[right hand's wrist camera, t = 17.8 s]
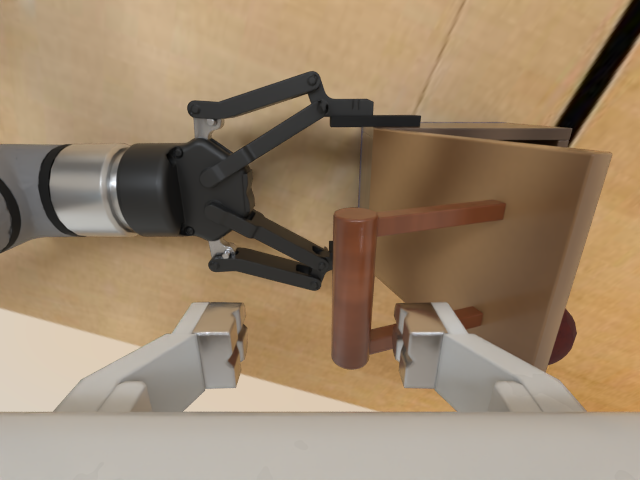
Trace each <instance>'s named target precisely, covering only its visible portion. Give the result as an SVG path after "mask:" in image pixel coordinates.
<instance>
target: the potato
mask: <svg viewBox="0 0 640 480" xmlns="http://www.w3.org/2000/svg"><path fill="white" fill-rule="evenodd" d="M576 334H577V332H576V326H575V322H574V320H573V318H572V316H571V315H570V313H569V312H568V311H567V310H566V309H565V311H564V314H563V317H562V320H561V324H560V327H559V330H558V333H557V337H556V340H555V343H554V346H553V350H552V353H551V356H550V359H549V363H548V365H550V364H553V363H555V362H557V361H559V360H561V359H562V358H563V357H564V356H566V355H567V354H568V352H569V351H570V350H571V348H572V346H573V343H574V340H575V337H576Z"/></svg>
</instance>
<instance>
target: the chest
mask: <svg viewBox="0 0 640 480" xmlns="http://www.w3.org/2000/svg"><path fill="white" fill-rule="evenodd" d="M374 129H394V130H404V131H413V132H423V133H432V134H442V135H451V136H461V137H471V138H480V139H490V140H499V141H509V142H518V143H528V144H537V145H547V146H556V147H566V148H567V146H568V142H569V141H568V140H569V139H570V135H571V131H572V128H563V127H550V126H538V125H526V124H513V123H503V122H420V127H362V128H361V152H360V175H359V199H358V208H365V209H369V201H370V183H371V165H372V146H373V130H374Z"/></svg>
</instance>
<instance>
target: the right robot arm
mask: <svg viewBox="0 0 640 480" xmlns="http://www.w3.org/2000/svg"><path fill="white" fill-rule="evenodd" d="M245 317H246V311H245V305H244V303H226V302H211V303H210V302H194V303H192V304H191V305H190V306H189V308H188V309H187V311H186V312H185V314H184V315H183V317H182V318H181V320H180V321H179V323H178V324H177V326H176V327H175V329H174V330H173V332H172V333H171V334H165V335H163V336H161V337H159V338H157V339H156V340H154V341H152V342H150V343H148V344H146V345H144V346H143V347H141V348H139V349H137V350H135V351H133V352H131V353H130V354H128V355H126V356H124V357H122V358H120V359H119V360H117V361H115V362H113V363H111V364H109V365H107V366H106V367H104V368H102V369H100V370H98V371H96V372H94V373H93V374H91V375H89V376H87V377H85V378H83V379H82V380H80V382H79V383H78V384H77V385H76V386H75V387H74V388H73V390H72V391H71V392H70V393H69V394H68V395H67V396H66V397H65V399H64V400H63V401H62V402H61V403H60V404H59V405H58V407H57V408H56V409H55V410H54V411H53V412H0V480H640V412H587V411H586V410H585V409H584V408H583V406H582V405H581V404H580V403H579V402H578V401H577V400H576V398H575V397H574V396H573V395H572V394H571V393H570V392H569V390H568V389H567V388H566V387H565V386H564V385H563V384H562V382H561V381H560V380H558V379H556V378H555V377H553V376H551V375H549V374H547V373H545V372H544V371H542V370H540V369H538V368H536V367H534V366H532V365H531V364H529V363H527V362H525V361H523V360H521V359H520V358H518V357H516V356H514V355H512V354H510V353H508V352H507V351H505V350H503V349H501V348H499V347H497V346H496V345H494V344H492V343H490V342H488V341H486V340H484V339H483V338H481V337H479V336H477V335H475V334H469V333H468V332H467V331H466V329H465V328H464V326H463V325H462V323H461V322H460V320H459V319H458V317H457V316H456V314H455V313H454V311H453V310H452V308H451V307H450V305H449V304H448V303H447V302H428V303H396V305H395V310H394V317H395V320H396V323H397V324H396V325H395V326H394V327H393V333H392V345H393V352H394V356H395V359H396V360H397V361H398V362H400V363H399V373H400V376H401V379H402V382H403V386H404V388H428V389H435V391H436V392H437V393H438V394H439V395H440V396H441V397H443V398H444V399H445V400H446V401H447V402H448V403H449V404H450V405H451V406H452V407H453V408H454V409H455V410H456V411H457V412H183V411H184V410H185V409H186V408H187V407H188V406H189V405H190V404H191V403H192V402H193V401H194V400H196V399H197V398H198V397H199V396H200V395H201V394H202V393H203V392H204V391H205V389H211V388H236V385H237V382H238V379H239V376H240V373H241V363H240V362H242V361H243V360H244V359H245V356H246V352H247V344H248V332H247V327H246V326H245V325H244V324H243V323H244V320H245Z"/></svg>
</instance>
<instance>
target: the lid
mask: <svg viewBox="0 0 640 480" xmlns="http://www.w3.org/2000/svg"><path fill="white" fill-rule="evenodd" d="M611 157H612V153H610V152H604V151H594V150H585V149H575V148H566V147H556V146H547V145H537V144H528V143H518V142H509V141H499V140H490V139H480V138H471V137H461V136H451V135H442V134H432V133H423V132H413V131H404V130H394V129H374V130H373V146H372V165H371V183H370V201H369V209H365V208H344V209H340V210H337V211H335V213H334V215H333V278H332V344H331V356H332V359H333V361H334V362H335V364H337V365H338V366H340V367H342V368H345V369H358V368H361V367H363V366H364V365H366V363H367V362H368V360H369V355H370V354H374V353H378V352H382V351H386V350H390V349H393V345H392V333H393V327H394V326H395V325H396V324H393V325H388V326H384V327H380V328H376V329H371V321H372V305H373V290H374V275H375V276H376V277H377V278H378V279H379V280H381V281H382V282H383V283H384V284H385V285H386V286H387V287H388V288H389V289H391V290H392V291H393V292H394V293H395V294H396V295H397V296H398V297H400V298H401V299H402V300H403V301H404V302H405V303H428V302H447V303H448V304H449V305H450V307H451V308H452V310H453V311H454V313H455V314H456V316H457V317H458V319H459V320H460V322H461V323H462V325H463V326H464V328H465V329H466V331H467V332H468V333H469V334H475V335H477V336H479V337H481V338H483V339H484V340H486V341H488V342H490V343H492V344H494V345H496V346H497V347H499V348H501V349H503V350H505V351H507V352H508V353H510V354H512V355H514V356H516V357H518V358H520V359H521V360H523V361H525V362H527V363H529V364H531V365H532V366H534V367H536V368H538V369H540V370H542V371H544V372H546V369H547V366H548V363H549V359H550V356H551V353H552V350H553V346H554V343H555V340H556V337H557V333H558V330H559V327H560V324H561V320H562V317H563V314H564V311H565V307H566V304H567V301H568V297H569V294H570V291H571V288H572V284H573V281H574V278H575V275H576V271H577V268H578V265H579V262H580V258H581V255H582V252H583V249H584V245H585V242H586V239H587V236H588V232H589V229H590V226H591V223H592V219H593V216H594V213H595V210H596V206H597V203H598V200H599V196H600V193H601V190H602V187H603V183H604V180H605V177H606V174H607V170H608V167H609V164H610V161H611Z"/></svg>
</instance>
